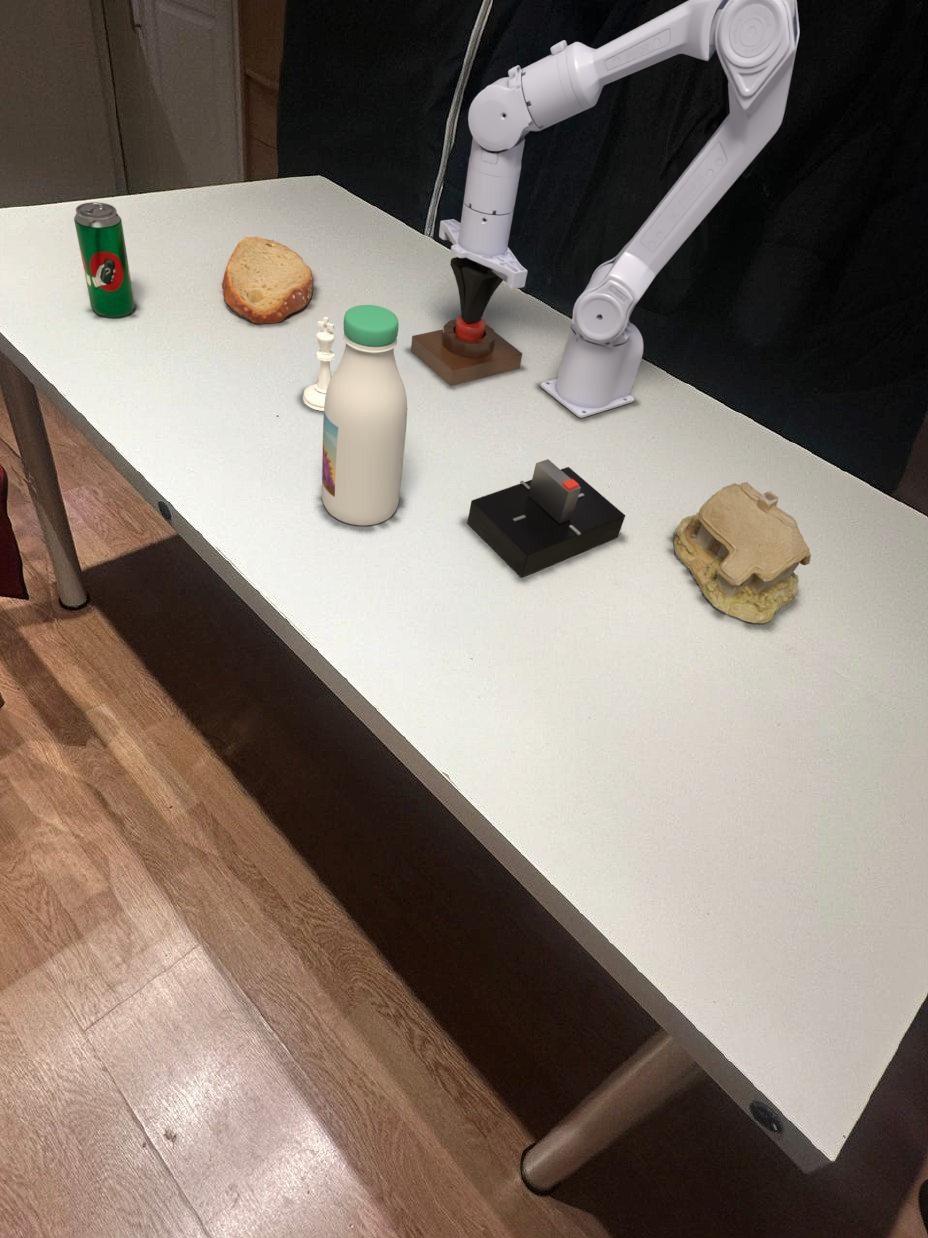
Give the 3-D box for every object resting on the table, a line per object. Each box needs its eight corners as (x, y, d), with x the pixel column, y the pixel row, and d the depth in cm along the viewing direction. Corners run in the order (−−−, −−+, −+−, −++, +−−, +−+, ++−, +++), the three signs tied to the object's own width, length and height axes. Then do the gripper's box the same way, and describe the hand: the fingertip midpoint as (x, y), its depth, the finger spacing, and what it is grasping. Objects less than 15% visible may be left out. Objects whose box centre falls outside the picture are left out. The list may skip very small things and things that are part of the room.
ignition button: (472, 325, 105) (474, 312, 104) (489, 338, 103) (491, 325, 102) (449, 330, 103) (451, 316, 102) (466, 343, 101) (468, 330, 100)
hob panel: (561, 488, 90) (568, 464, 87) (618, 538, 85) (627, 514, 83) (466, 522, 83) (470, 498, 81) (522, 578, 79) (528, 554, 76)
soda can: (144, 310, 103) (129, 211, 95) (111, 323, 100) (93, 222, 91) (115, 296, 105) (98, 197, 96) (82, 308, 101) (62, 207, 93)
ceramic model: (817, 601, 82) (866, 524, 75) (740, 636, 77) (785, 557, 70) (720, 517, 90) (756, 440, 83) (644, 544, 85) (676, 464, 78)
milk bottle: (409, 493, 85) (430, 310, 71) (380, 537, 80) (396, 348, 66) (341, 471, 86) (348, 285, 72) (308, 512, 81) (308, 321, 67)
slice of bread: (262, 245, 120) (261, 219, 118) (355, 291, 115) (356, 264, 112) (163, 279, 109) (159, 251, 107) (261, 331, 103) (259, 303, 101)
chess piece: (338, 415, 93) (341, 333, 86) (296, 405, 93) (296, 322, 86) (351, 393, 97) (355, 312, 89) (311, 384, 97) (311, 302, 90)
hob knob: (527, 495, 83) (536, 460, 80) (539, 491, 84) (548, 456, 81) (559, 524, 80) (569, 489, 77) (571, 519, 81) (581, 485, 78)
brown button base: (478, 336, 111) (483, 307, 108) (519, 368, 106) (525, 340, 103) (410, 351, 105) (413, 322, 102) (450, 386, 101) (454, 356, 98)
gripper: (423, 183, 94) (412, 298, 103) (499, 235, 86) (480, 353, 96) (472, 178, 97) (457, 289, 107) (550, 228, 90) (526, 342, 100)
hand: (471, 319), depth 102 cm, fingers closed
